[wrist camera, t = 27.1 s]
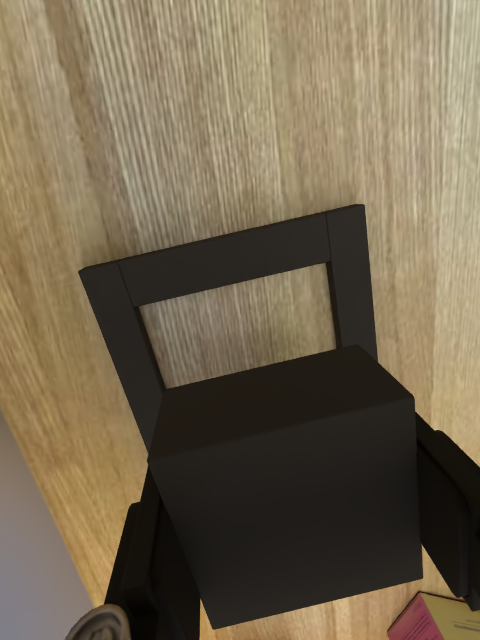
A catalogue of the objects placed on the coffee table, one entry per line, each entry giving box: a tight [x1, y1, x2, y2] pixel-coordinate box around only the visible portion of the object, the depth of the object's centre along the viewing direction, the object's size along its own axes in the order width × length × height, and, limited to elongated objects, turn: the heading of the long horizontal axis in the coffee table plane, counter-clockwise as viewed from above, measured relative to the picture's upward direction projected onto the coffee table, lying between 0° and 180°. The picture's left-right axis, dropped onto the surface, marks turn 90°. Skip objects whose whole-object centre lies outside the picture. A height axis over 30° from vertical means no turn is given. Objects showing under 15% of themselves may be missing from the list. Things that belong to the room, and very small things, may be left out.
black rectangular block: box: [147, 344, 423, 630], centre depth 10 cm, size 6×6×3 cm
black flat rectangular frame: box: [78, 204, 378, 454], centre depth 21 cm, size 14×22×1 cm, turn 12°
